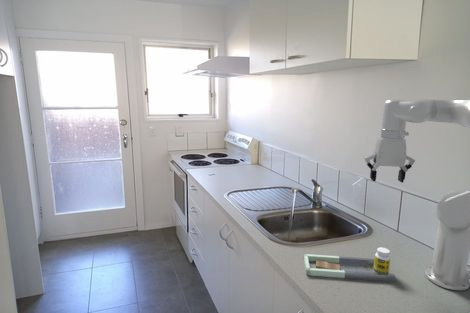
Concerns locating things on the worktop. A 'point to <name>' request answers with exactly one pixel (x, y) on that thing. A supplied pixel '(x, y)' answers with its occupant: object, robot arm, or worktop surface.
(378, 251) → the supplement bottle
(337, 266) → the brown block
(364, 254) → the worktop surface
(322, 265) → the chip
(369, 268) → the channel
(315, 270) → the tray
